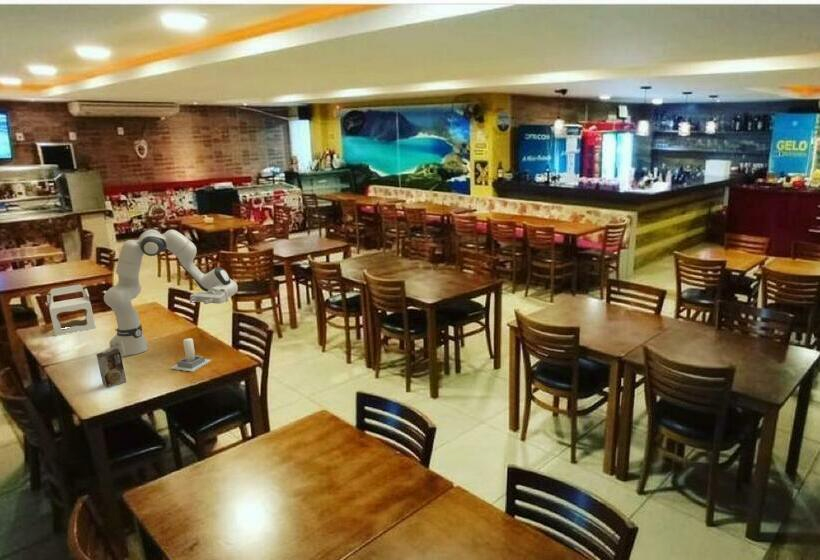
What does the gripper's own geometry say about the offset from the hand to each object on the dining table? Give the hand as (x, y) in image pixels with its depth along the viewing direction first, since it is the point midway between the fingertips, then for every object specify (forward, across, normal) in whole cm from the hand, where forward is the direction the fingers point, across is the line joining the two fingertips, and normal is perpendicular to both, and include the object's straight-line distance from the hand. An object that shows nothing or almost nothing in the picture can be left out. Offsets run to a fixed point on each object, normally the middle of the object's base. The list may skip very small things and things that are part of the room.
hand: (197, 302), depth 298 cm
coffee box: (+46, -15, +28) cm, 56 cm away
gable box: (-6, -107, +28) cm, 111 cm away
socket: (+18, +7, +28) cm, 34 cm away
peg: (+18, +7, +27) cm, 33 cm away
